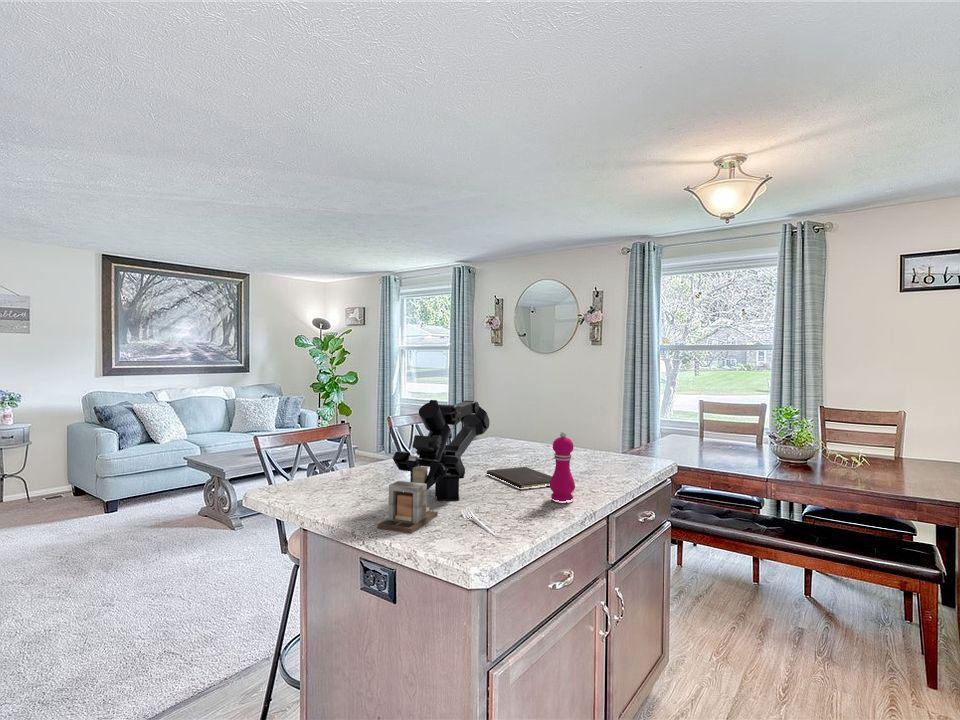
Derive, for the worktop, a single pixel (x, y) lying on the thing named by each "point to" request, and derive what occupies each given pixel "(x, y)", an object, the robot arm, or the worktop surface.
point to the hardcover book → (521, 476)
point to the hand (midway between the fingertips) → (417, 490)
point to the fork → (475, 520)
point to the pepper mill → (562, 469)
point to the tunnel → (418, 507)
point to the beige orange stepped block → (410, 496)
